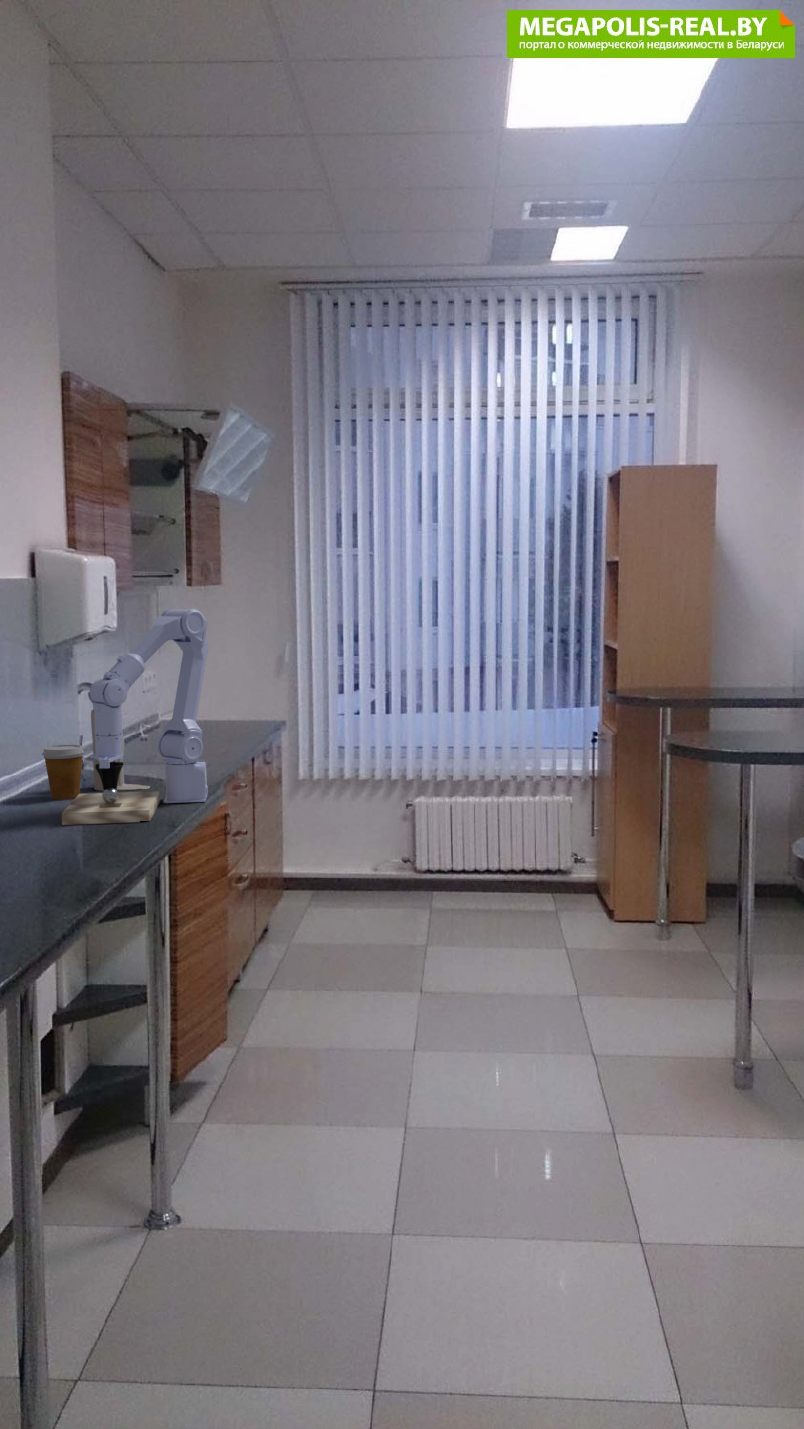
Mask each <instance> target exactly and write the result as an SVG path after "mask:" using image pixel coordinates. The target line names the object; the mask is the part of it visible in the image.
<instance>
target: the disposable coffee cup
mask: <svg viewBox="0 0 804 1429" xmlns="http://www.w3.org/2000/svg"><path fill="white" fill-rule="evenodd" d="M84 753H85V750H84V749H83V745H80V744H57V745H55V744H54V745H50V746H45V747H44V748H43V752H42V753H41V755H42V756H43V758H44V760H45V761H44V762H45V769H46V772H47V779H48V784H49V790H50V795H51V799H53V800H57V801H63V800H66V801H67V800H74V799H75V798H76V797H77V796H78V795H79V794H81V793H80V792H81V777H82V767H83V756H84Z"/></svg>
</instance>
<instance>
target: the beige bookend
mask: <svg viewBox="0 0 804 1429" xmlns="http://www.w3.org/2000/svg"><path fill="white" fill-rule="evenodd" d="M90 722H91V723H90V728H91V739H92V754H96V750H95V717H94V710H93V709H91V711H90ZM122 751H123V754H124V755H125V737H124V733H123V731H122ZM92 759H93V760H92V762H93V764H92V765H93V766H92V769H93V770H92V771H93V785H94V786H93V788H94V790H95V791H100V792H101V791H104V789H103V785H102V781H101V778H100V775H99V773H98V772H97V770H96V768H95V765H96V764H99V761H98V760H96V759H95V758H92ZM115 762H123V763H124V757H123V758H122V759H119V760H115ZM124 773H125V770H124V766H123V767H122V769H121V772H120V775H119V779H118V785H117V791H136V790H137V791H139V790H149V789H150V788H151V786H150V785H142V784H134V783H133V784H132V783H125V776H124V775H125V774H124Z"/></svg>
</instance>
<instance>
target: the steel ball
mask: <svg viewBox="0 0 804 1429" xmlns="http://www.w3.org/2000/svg"><path fill="white" fill-rule="evenodd" d="M118 791H119V790H116V789H114V788H107V789H105V790H104V791H103V792H102V793H103V794H102V798H103V800H104V801H105V802H106V803H108V804H112V803H115V802H116V801H117V800H118V797H119V794H118V793H119V792H118Z"/></svg>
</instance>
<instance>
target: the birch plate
mask: <svg viewBox="0 0 804 1429" xmlns="http://www.w3.org/2000/svg"><path fill="white" fill-rule="evenodd" d="M102 794H103V792H95V793H94V792H93V793H91V792H90V793H80V794H79V795H78V796H77V797H76V798H74V799H72V801H71V802H70V804H68V806H67V807H66V808H65V809H64V810H63V811H62V812H61V824H62V825H63V826H65V825H66V826H67V825H69V826H71V825H73V826H74V825H96V824H121V823H122V824H123V823H141V822H140V821H150V822H151V821H152V818H153V816H154V814H155V813H156V811H157V809H158V806H159V805H160V803H161V792H160V790H155V791H154V790H153V791H151V790H150V791H149V790H148V791H126V792H125V791H122V792H118V794H119V797H118V800H117V801H116V802H115V803H112V804H108V803H106V802H105V801H104V800H103V798H102Z"/></svg>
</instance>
